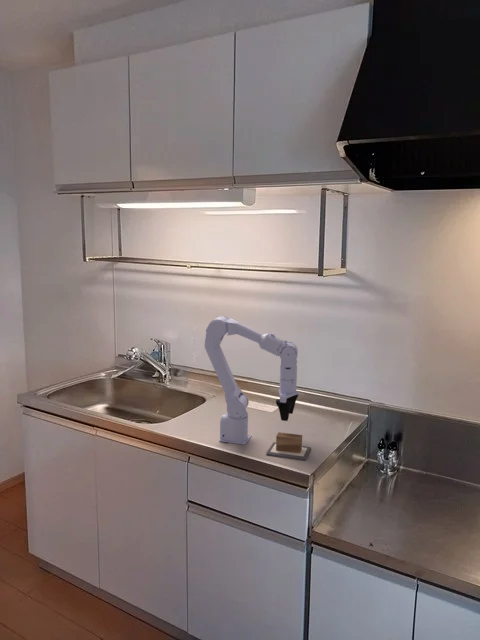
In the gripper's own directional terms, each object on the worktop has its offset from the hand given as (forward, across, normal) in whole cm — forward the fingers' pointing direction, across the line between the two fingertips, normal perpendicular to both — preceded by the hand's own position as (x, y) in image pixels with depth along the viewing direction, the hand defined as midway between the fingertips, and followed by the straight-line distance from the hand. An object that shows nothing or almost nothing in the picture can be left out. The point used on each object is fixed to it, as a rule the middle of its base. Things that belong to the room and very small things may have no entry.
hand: (287, 416), depth 178 cm
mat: (+9, -7, -3) cm, 12 cm away
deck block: (+9, -7, -3) cm, 12 cm away
